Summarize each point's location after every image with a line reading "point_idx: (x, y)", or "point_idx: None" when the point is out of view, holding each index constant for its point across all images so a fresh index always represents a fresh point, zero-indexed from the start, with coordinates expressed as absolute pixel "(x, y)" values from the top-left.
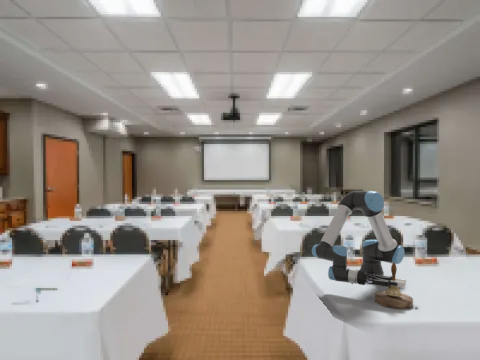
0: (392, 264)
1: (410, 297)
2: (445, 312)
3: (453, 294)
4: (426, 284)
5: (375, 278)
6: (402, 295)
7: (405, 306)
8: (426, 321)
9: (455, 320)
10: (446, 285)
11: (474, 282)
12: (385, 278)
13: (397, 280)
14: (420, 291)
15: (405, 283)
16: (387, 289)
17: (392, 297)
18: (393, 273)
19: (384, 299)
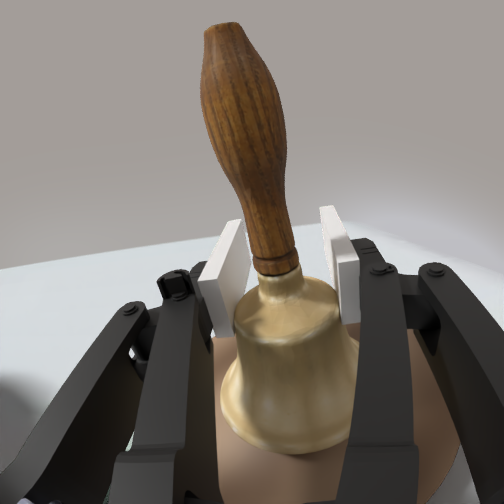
0: (238, 41)
1: None
2: (310, 259)
3: (98, 274)
4: (6, 322)
5: (412, 472)
6: (232, 360)
7: None
8: (465, 266)
9: (372, 237)
10: (27, 291)
11: (27, 265)
12: (197, 353)
13: (233, 263)
14: (62, 334)
15: (247, 247)
16: (311, 407)
17: None
18: (284, 166)
19: (446, 426)
